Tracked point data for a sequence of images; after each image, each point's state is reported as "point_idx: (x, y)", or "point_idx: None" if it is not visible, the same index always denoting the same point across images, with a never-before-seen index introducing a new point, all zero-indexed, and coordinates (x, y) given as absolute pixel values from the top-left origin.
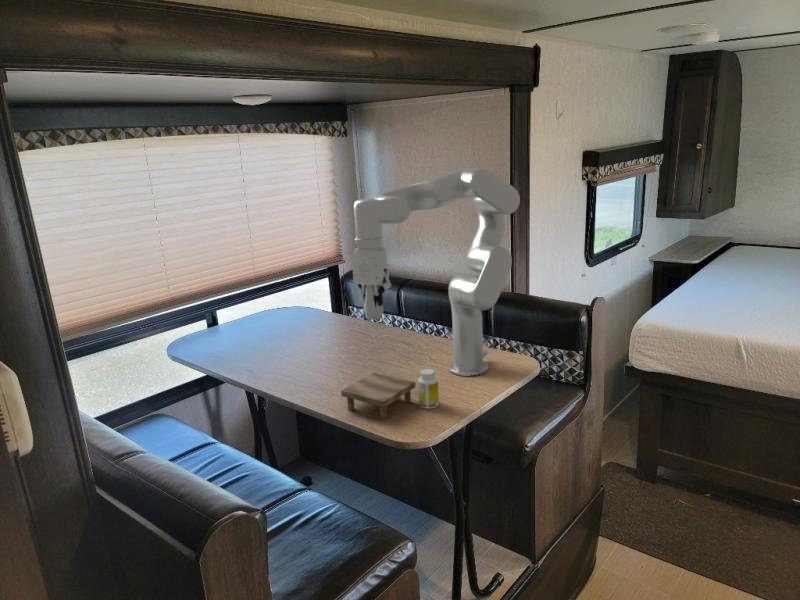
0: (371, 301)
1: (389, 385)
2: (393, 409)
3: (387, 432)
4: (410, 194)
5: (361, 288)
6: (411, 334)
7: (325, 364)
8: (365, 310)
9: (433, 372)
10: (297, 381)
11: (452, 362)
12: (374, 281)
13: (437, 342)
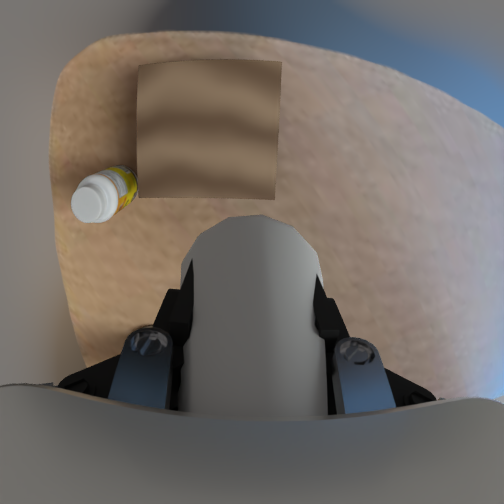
0: (217, 277)
1: (181, 146)
2: None
3: (128, 48)
4: None
5: (383, 377)
6: None
7: (440, 262)
8: (276, 225)
9: (72, 207)
10: (451, 167)
11: None
12: (24, 437)
13: None
